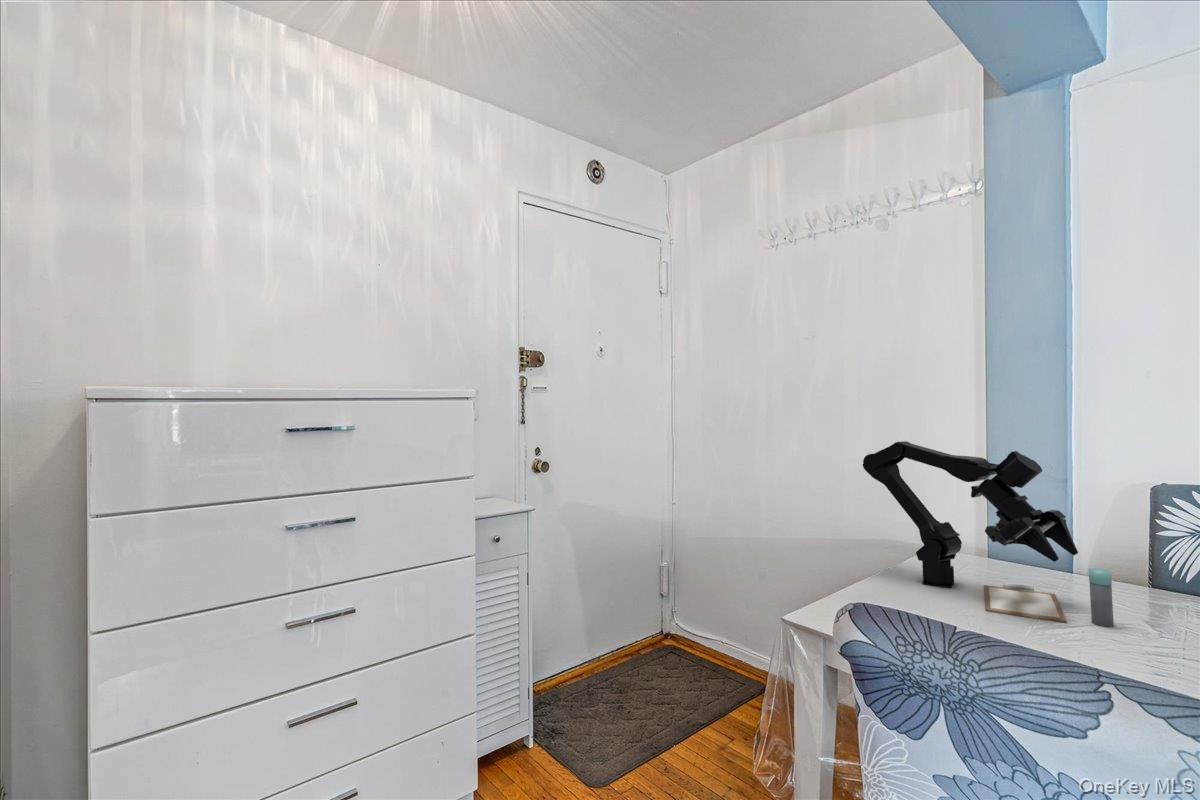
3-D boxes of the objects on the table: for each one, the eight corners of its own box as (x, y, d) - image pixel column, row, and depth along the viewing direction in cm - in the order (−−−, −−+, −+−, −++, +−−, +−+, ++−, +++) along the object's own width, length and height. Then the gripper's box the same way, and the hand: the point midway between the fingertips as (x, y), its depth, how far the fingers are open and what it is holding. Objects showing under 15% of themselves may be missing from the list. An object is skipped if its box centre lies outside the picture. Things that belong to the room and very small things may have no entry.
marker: (1092, 625, 113) (1090, 571, 113) (1089, 619, 116) (1087, 567, 116) (1115, 628, 111) (1112, 574, 111) (1112, 622, 114) (1109, 569, 114)
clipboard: (985, 611, 122) (985, 603, 122) (983, 586, 139) (983, 580, 139) (1066, 623, 114) (1066, 615, 114) (1055, 595, 131) (1054, 588, 131)
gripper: (1000, 517, 138) (1056, 571, 128) (960, 525, 129) (1016, 584, 119) (1035, 488, 131) (1097, 543, 121) (995, 495, 122) (1058, 555, 112)
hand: (1066, 557), depth 119 cm, fingers open, 9 cm apart
